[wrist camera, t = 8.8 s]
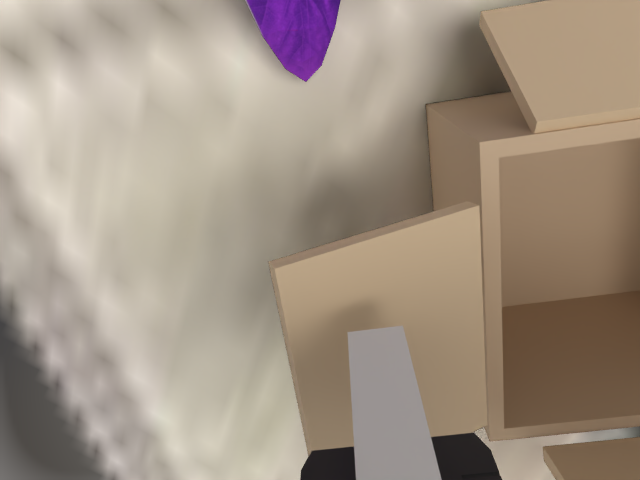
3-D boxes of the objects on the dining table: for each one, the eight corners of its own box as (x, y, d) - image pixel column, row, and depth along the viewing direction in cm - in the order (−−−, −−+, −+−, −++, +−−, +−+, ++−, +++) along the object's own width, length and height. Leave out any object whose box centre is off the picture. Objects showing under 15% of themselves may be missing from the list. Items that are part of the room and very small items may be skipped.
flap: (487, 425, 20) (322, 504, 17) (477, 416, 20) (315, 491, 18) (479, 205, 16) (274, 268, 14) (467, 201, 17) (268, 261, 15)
